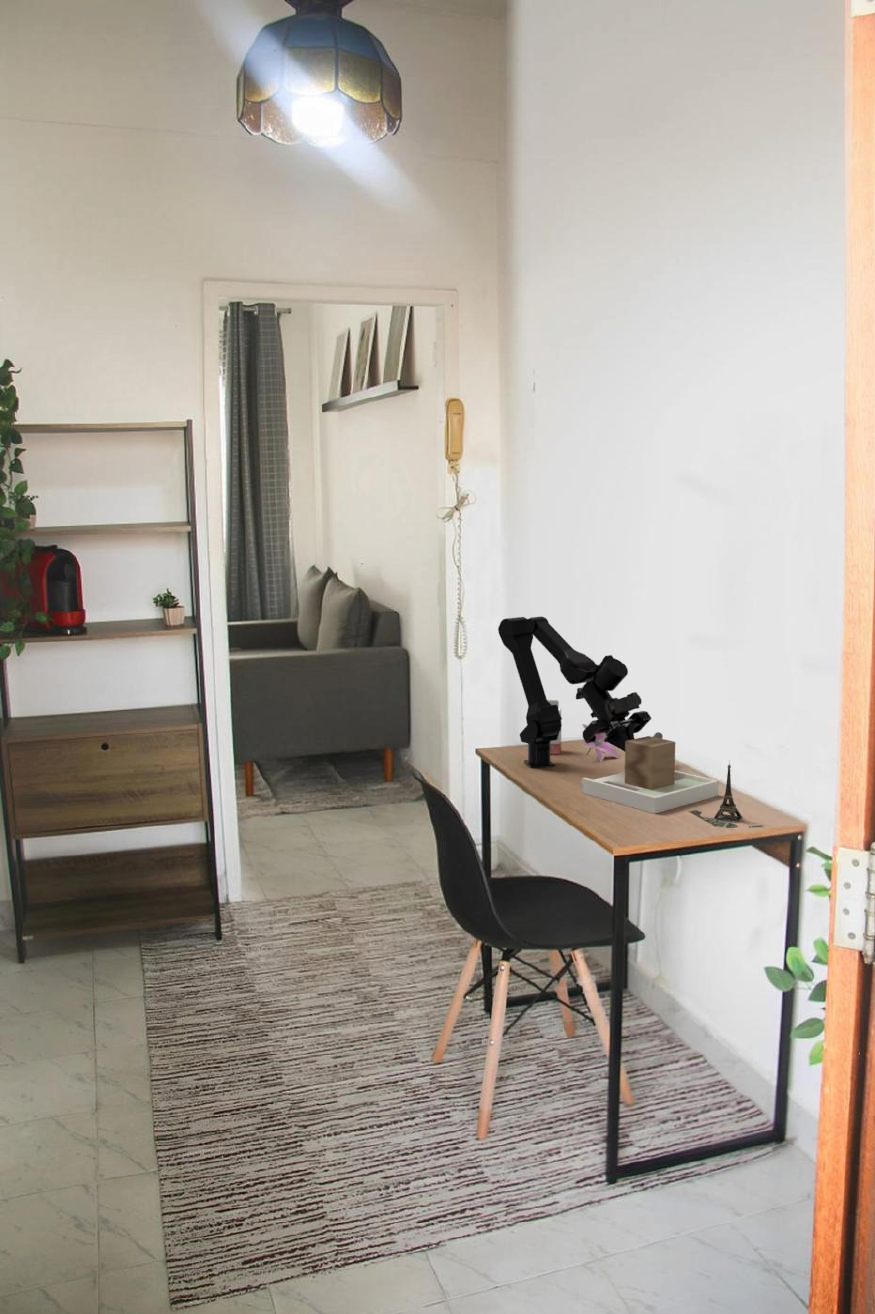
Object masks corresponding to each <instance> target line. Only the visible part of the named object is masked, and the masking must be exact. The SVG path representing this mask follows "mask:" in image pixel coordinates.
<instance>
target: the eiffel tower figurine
mask: <svg viewBox="0 0 875 1314" xmlns="http://www.w3.org/2000/svg"><path fill="white" fill-rule="evenodd" d="M730 762H731V761H730V759H729V760H728V765H727V773H726V774H727V775H726V776H727V777H726V787H725V793H724V795H723V800H722V803H721V804H720V805H719V809H718V811H717V812H716V813H715V816H714V817H705V816H701V814H702V813H703V811H699V810H696V809H695V810H689V812H690V813H692V814H693V815H695V816H696V817H698V818H700V819H702V820H704V822H707V823H709V824H710V825H712V826H713V827H716V828H717V827H718V828H724V829H735V828H738V826H739V825H737V824H738V823H739V822H740V821H741V820H742V819H743V818H744V816H743V815H742V814H741V812H740V811H739V809H738V808H737V804H735V802H734V798H733V793H732V781H731V765H730ZM725 813H727V814H725ZM757 827H763V825H762V824H760V825H752V826H750V825H748V828H749V829H750V828H751V829H752V828H757Z"/></svg>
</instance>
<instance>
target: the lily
mask: <svg viewBox="0 0 875 1314" xmlns="http://www.w3.org/2000/svg"><path fill="white" fill-rule="evenodd" d="M587 726H588V725H587V724H582V727H583V728H584V730H585V729H586V727H587ZM595 736H596V740H595V742H591V743H586V742H585V740H584V741H583V743H582V744H583V746H584V747H588V748H589V749H588V751H587V753H586V755H585V756H588V754H589V753H590V751H591V749H595V751H596V755H597V757H598V761H600V762H603V760H604V758H605V755H606V754H608V755H610V756H612V757H614V758H616V759H620V755H619V752H618V750H617V749H616V746H614V745H612V744H610V743H608V742H604V740H605V739H606V734H605V733H600V734H596V735H595Z"/></svg>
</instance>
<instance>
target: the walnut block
mask: <svg viewBox="0 0 875 1314" xmlns="http://www.w3.org/2000/svg"><path fill="white" fill-rule="evenodd" d="M675 770H676V741H674V740H668V739H663V738H662V739H660V738H655V737H653V736H649V735H647V736H644V737H639V738H634V739H633V740H628V741H625V752H624V772H625V783H626V784H630V785H633V786H637V787H641V788H645V789H649V790H654V789H658V788H662V787H665V786H669V785H673V784H674V780H675Z"/></svg>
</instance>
